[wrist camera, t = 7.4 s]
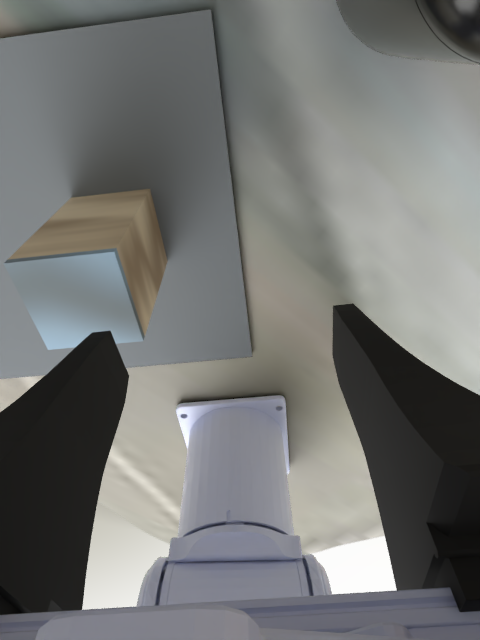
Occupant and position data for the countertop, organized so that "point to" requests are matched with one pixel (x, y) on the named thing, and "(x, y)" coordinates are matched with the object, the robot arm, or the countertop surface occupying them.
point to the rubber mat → (125, 174)
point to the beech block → (92, 269)
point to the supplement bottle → (417, 28)
